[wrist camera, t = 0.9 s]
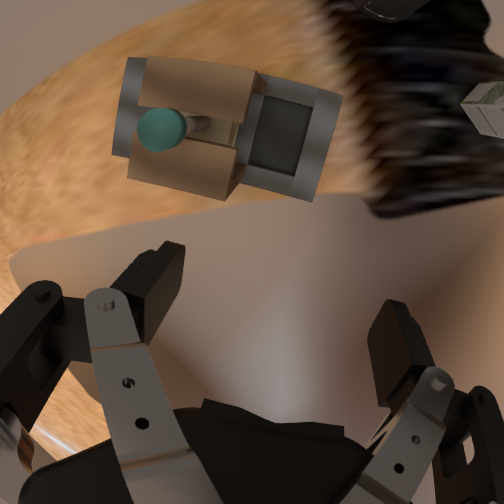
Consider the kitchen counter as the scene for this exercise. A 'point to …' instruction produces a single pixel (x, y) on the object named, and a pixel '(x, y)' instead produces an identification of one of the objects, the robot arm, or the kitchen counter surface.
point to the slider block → (182, 129)
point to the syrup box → (486, 108)
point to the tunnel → (233, 109)
